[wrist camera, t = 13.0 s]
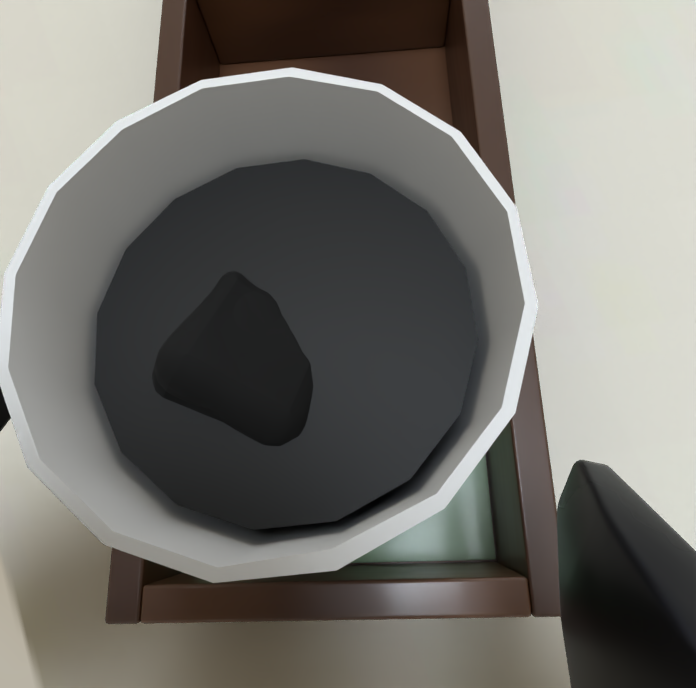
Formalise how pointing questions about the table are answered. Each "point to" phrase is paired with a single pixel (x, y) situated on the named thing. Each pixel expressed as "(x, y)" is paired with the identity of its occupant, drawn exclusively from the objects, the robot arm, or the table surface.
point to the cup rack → (528, 422)
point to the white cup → (266, 325)
